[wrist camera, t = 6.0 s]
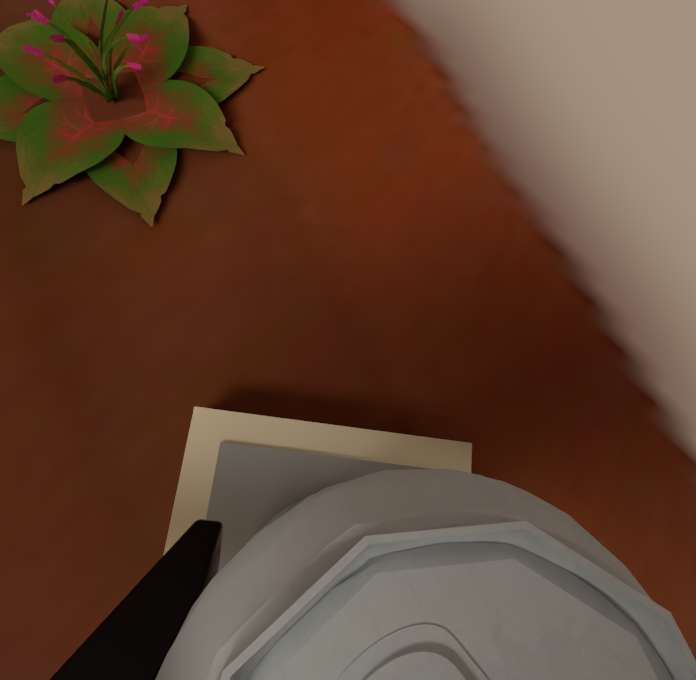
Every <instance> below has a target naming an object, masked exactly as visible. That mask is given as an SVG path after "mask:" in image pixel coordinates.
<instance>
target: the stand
mask: <svg viewBox="0 0 696 680" xmlns="http://www.w3.org/2000/svg"><path fill="white" fill-rule="evenodd" d="M471 463H472V443H467V442H460V441H452V440H445V439H437V438H430V437H422V436H414V435H407V434H399V433H392V432H384V431H377V430H369V429H361V428H354V427H346V426H339V425H331V424H324V423H316V422H308V421H301V420H293V419H286V418H278V417H270V416H263V415H255V414H248V413H240V412H233V411H225V410H217V409H210V408H202V407H195V406H194V411H193V416H192V420H191V425H190V430H189V435H188V440H187V444H186V449H185V454H184V459H183V464H182V468H181V473H180V478H179V483H178V488H177V492H176V497H175V502H174V507H173V512H172V517H171V521H170V526H169V531H168V536H167V541H166V545H165V550H164V555H165V554H166V552H167V551H168V550H169V549H170V548H171V547H172V546H173V545H174V544H175V543H176V542H177V541H178V539H179V538H180V537H181V536H182V535H183V534H184V533H185V532H186V531H187V530H188V529H189V527H190V526H191V525H192V524H193V523H194V522H195V521H197V520H199V519H205V520H214V521H220V522H221V523H222V524H223V532H222V543H221V553H220V562H219V568H218V572H219V571H220V570H221V569H222V568H223V567H224V566H225V565H226V564H227V563H228V562H229V561H230V560H231V559H232V558H233V557H234V556H235V555H236V554H237V553H238V552H239V551H240V550H241V549H242V548H243V547H244V546H245V545H246V544H247V543H248V541H249V540H250V539H251V537H252V536H253V535H254V534H255V533H256V532H257V531H258V530H259V529H260V528H261V527H262V526H263V525H264V524H265V523H266V522H267V521H268V520H269V519H270V518H272V517H273V516H275V515H276V514H277V513H279V512H280V511H282V510H283V509H285V508H286V507H288V506H290V505H292V504H294V503H296V502H298V501H300V500H302V499H304V498H306V497H308V496H310V495H312V494H314V493H316V492H318V491H320V490H322V489H324V488H326V487H329V486H332V485H336V484H339V483H343V482H346V481H350V480H353V479H357V478H360V477H362V476H365V475H368V474H372V473H376V472H380V471H384V470H408V469H453V470H458V471H463V472H468V473H471ZM164 555H163V556H164Z"/></svg>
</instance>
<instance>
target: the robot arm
mask: <svg viewBox="0 0 696 680" xmlns="http://www.w3.org/2000/svg"><path fill="white" fill-rule="evenodd" d="M222 532H223V524H222V523H221V522H220V521H214V520H205V519H199V520H197V521H195V522H194V523H193V524H192V525H191V526H190V527H189V529H188V530H187V531H186V532H185V533H184V534H183V535H182V536H181V537H180V538H179V539H178V541H177V542H176V543H175V544H174V545H173V546H172V547H171V548H170V549H169V550H168V551H167V552H166V554H165V555H164V556H163V557H162V558H161V559H160V560H159V561H158V562H157V563H156V564H155V566H154V567H153V568H152V569H151V570H150V571H149V572H148V573H147V574H146V575H145V576H144V577H143V579H142V580H141V581H140V582H139V583H138V584H137V585H136V586H135V587H134V588H133V589H132V591H131V592H130V593H129V594H128V595H127V596H126V597H125V598H124V599H123V600H122V601H121V602H120V604H119V605H118V606H117V607H116V608H115V609H114V610H113V611H112V612H111V613H110V614H109V616H108V617H107V618H106V619H105V620H104V621H103V622H102V623H101V624H100V625H99V626H98V627H97V629H96V630H95V631H94V632H93V633H92V634H91V635H90V636H89V637H88V638H87V639H86V641H85V642H84V643H83V644H82V645H81V646H80V647H79V648H78V649H77V650H76V651H75V652H74V654H73V655H72V656H71V657H70V658H69V659H68V660H67V661H66V662H65V663H64V664H63V666H62V667H61V668H60V669H59V670H58V671H57V672H56V673H55V674H54V675H53V676H52V678H51V679H50V680H155V679H156V677H157V675H158V672H159V670H160V668H161V666H162V664H163V661H164V659H165V657H166V655H167V653H168V651H169V650H170V648H171V646H172V645H173V643H174V641H175V639H176V637H177V635H178V633H179V631H180V629H181V627H182V626H183V624H184V622H185V620H186V618H187V616H188V614H189V612H190V610H191V608H192V606H193V604H194V603H195V602H196V600H197V599H198V598H199V596H200V595H201V593H202V592H203V591H204V589H205V588H206V587H207V585H208V584H209V582H210V581H211V580H212V578H213V577H214V576H215V575H216V574H217V573H218V568H219V562H220V553H221V543H222Z"/></svg>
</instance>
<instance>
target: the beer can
mask: <svg viewBox="0 0 696 680" xmlns="http://www.w3.org/2000/svg"><path fill="white" fill-rule="evenodd" d="M155 680H696V660H695V658H694V656H693V654H692V652H691V650H690V649H689V647H688V645H687V643H686V641H685V639H684V637H683V635H682V633H681V631H680V630H679V628H678V626H677V624H676V622H675V620H674V618H673V616H672V614H671V612H669V611H668V610H666V609H665V608H663V607H661V606H660V605H658V604H657V603H655V602H654V601H652V600H651V598H650V597H649V596H648V594H647V593H646V592H645V591H644V589H643V588H642V587H641V585H640V584H639V583H638V582H637V580H636V579H635V578H634V576H633V575H632V574H631V573H630V571H629V570H628V569H627V567H626V566H625V565H624V564H623V563H622V562H621V561H619V560H618V559H617V558H616V557H615V556H614V555H613V554H612V553H610V552H609V551H608V550H607V549H606V548H605V547H604V546H603V545H601V544H600V543H599V542H598V541H597V540H596V539H595V538H594V537H592V536H591V535H590V534H589V533H588V532H587V531H586V530H585V529H584V528H583V527H581V526H580V525H579V524H578V523H577V522H576V521H575V520H574V519H572V518H571V517H570V516H569V515H568V514H566V513H564V512H563V511H561V510H559V509H557V508H556V507H554V506H552V505H550V504H549V503H547V502H545V501H543V500H542V499H540V498H538V497H536V496H535V495H533V494H531V493H529V492H527V491H525V490H522V489H520V488H518V487H515V486H513V485H511V484H508V483H506V482H504V481H500V480H496V479H492V478H487V477H484V476H481V475H478V474H473V473H468V472H463V471H458V470H453V469H408V470H384V471H380V472H376V473H372V474H368V475H365V476H362V477H360V478H357V479H353V480H350V481H346V482H343V483H339V484H336V485H332V486H329V487H326V488H324V489H322V490H320V491H318V492H316V493H314V494H312V495H310V496H308V497H306V498H304V499H302V500H300V501H298V502H296V503H294V504H292V505H290V506H288V507H286V508H285V509H283V510H282V511H280V512H279V513H277V514H276V515H275V516H273V517H272V518H270V519H269V520H268V521H267V522H266V523H265V524H264V525H263V526H262V527H261V528H260V529H259V530H258V531H257V532H256V533H255V534H254V535H253V536H252V537H251V539H250V540H249V541H248V543H247V544H246V545H245V546H244V547H243V548H242V549H241V550H240V551H239V552H238V553H237V554H236V555H235V556H234V557H233V558H232V559H231V560H230V561H229V562H228V563H227V564H226V565H225V566H224V567H223V568H222V569H221V570H220V571H219V572H218V573H217V574H216V575H215V576H214V577H213V578H212V580H211V581H210V582H209V584H208V585H207V587H206V588H205V589H204V591H203V592H202V593H201V595H200V596H199V598H198V599H197V600H196V602H195V603H194V604H193V606H192V608H191V610H190V612H189V614H188V616H187V618H186V620H185V622H184V624H183V626H182V627H181V629H180V631H179V633H178V635H177V637H176V639H175V641H174V643H173V645H172V646H171V648H170V650H169V651H168V653H167V655H166V657H165V659H164V661H163V664H162V666H161V668H160V670H159V672H158V675H157V677H156V679H155Z"/></svg>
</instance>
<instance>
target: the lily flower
mask: <svg viewBox="0 0 696 680" xmlns="http://www.w3.org/2000/svg"><path fill="white" fill-rule="evenodd" d="M48 1H49V2H50V3H51V4H52V5H54V6H55V7H56V8H55V10H54V12H53V14H52V17H51V18H52V19H51V20H49V19H48V20H47V19H46V18H45V17H44V16H43V15H42V14H41V13H39V12H38V11H37V10H34V12H35V13H36V14H37V15H35V13H33V12H32V13H27V16H32V17H31V18H32V19H31V20H28V21H24V22H22V23H19V24H16V25H13V26H10V27H8V28H6V29H5V31H2V33H0V67H1V69H2V70H3V71H4V72H5V74H6V75H3V76H0V139H2V140H7V141H12V142H16V152H17V159H18V166H19V172H20V177H21V178H22V179H23V180H24V181H23V182H24V184H25V185H26V187H25V189H23V199H22V205H23V204H25V203H26V202H28V201H29V200H30V199H32V198H33V197H35V196H37V195H39V194H41V193H43V192H44V191H46V190H48V189H50V188H51V187H52V185H53V184H55V183H57V184H60V183H62V182H63V181H65V180H67V179H69V178H71V177H72V176H74V175H76V174H77V173H79V172H82V171H84V170H86V172H87V174H88V175H89V176H90V178H91V179H92V180H93V181H94V182H95V183H96V184H97V185H98V186H99V187H100V188H102V189H103V190H104V191H105V192H107V193H108V194H109V195H110V196H112V197H113V198H114V199H116V200H117V201H119V202H120V203H121V204H123V205H124V206H126V207H127V208H129V209H130V210H135V211H136V212H139V213H141V217H142V218H143V219H144V220H145V221H146V222H147V223H148V224H149V225H150V226H151V227H152V225H153V221H154V215H155V214H156V212H157V210H158V208H159V205H160V203H161V195H162V194H164V193H165V192H166V190H167V188H168V186H169V183H170V181H171V178H172V175H173V172H174V169H175V166H176V161H177V148H189V149H197V150H208V151H221V150H222V151H224V150H227V151H229V152H231V153H237V154H241V155H245V154H244V153H243V152H242V150H241V149H240V148H239V146H237V142H236V140H235V138H234V136H233V134H232V132H231V130H230V129H229V128H227V127H226V126H225V122H226V119H225V117H224V115H223V113H222V111H221V109H220V107H219V106H218V104H219V103H220V102H222V101H223V100H224V99H225V98H227V97H228V96H229V95H230V94H232V93H233V92H234V91H236V90H237V89H238V88H239V87H240V86H242V85H243V84H244V83H245V82H246V81H247V80H248V79H249V77H250V75H251V74H252V73H253V74H254V73H256V72H258V71H259V70H261V69H263V68H264V67H262V66H258V65H254V66H253V65H252V64H251V63H249V62H246V61H244V60H242V59H239V58H236V59H233V58H232V57H231V55H230V54H228V53H226V52H223V51H221V50H218V49H215V48H211V47H203V46H188V44H189V24H188V18H187V17H186V16H185V15H184V13H185V12H186V8H187V5H182V6H179V7H176V6H162V7H160V8H159V9H158V8H156V7H154V6H143V5H144V4H145V3H146V4H148V3H149V2H148V1H147V0H141V1H139V2H136V3H135V4H133V7H132V8H130V9H128V10H125V9H124V8H123V7H122V6H121V5H120V4H118V3H117V2H116V1H114V0H62V1H61V2H60V3H59V4H58V6H56V5H55V2H54V1H52V0H48ZM89 16H90V18H91V19H92V20H93V22H94V23H95V25H96V26H97V28H98V29H99V31H100V40H99V45H98V48H97V46H96V45H95V44H94V43H93V42H92V41H93V40H92V41H91V40H90V39H89V38H88V37H87V36H86V35H87V34H88V29H89ZM89 32H90V31H89ZM90 35H91V34H90ZM91 38H92V37H91ZM132 71H134V73H135V75H136V78H137V80H138V83H139V85H140V88H141V90H142V92H143V95H144V99H145V105H146V111H147V112H144V113H140V114H136V115H132V116H128V117H124V118H121V119H117V120H108V121H95V122H93V120H92V117H91V115H90V112H89V110H88V108H87V105H86V103H85V100H84V98H83V92H82V86H85V87H88V88H90V89H91V90H92V91H94V92H96V93H98V94H100V95H102V96H103V97H104V98H106V99H107V101H108V103H109V102H110V100H111V99H112V98H113V99H114V97H115V98H117V99H118V95H119V90H118V86H117V74H118V73H122V72H132ZM175 72H182V73H187V74H190V75H192V76H194V77H196V78H217V79H214V80H212V81H209V82H207V83H204V84H202V85H199V86H197V85H195V84H193V83H190V82H187V81H182V80H168V79H169V78H170V77H171V76H172V75H173V74H174V73H175ZM108 74H109V76H110V81H111V86H112V89H113V94H112V91H111V88H110V86H109V80H108ZM91 78H96V79H97V81H98V82H99V83H100V85H101V86H102V87H103V89H104V91H105V92H104V91H103V90H102V89H101V88H100V87H99V86H97V85H96V84H94V83H93V82H92V81H90V80H89V79H91ZM81 85H82V86H81ZM42 98H45V99H49V100H52V101H48V102H45V103H43V104H40V105H38V106H36V107H35V108H33V109H32V110H31V111H29V112H28V113H27V114H25V113H22V112H24V111H26V110H27V109H28V108H29V107H31V106H32V105H34V104H35V103H36V102H38V101H39V100H40V99H42ZM114 102H115V101H114ZM125 134H126V135H127V136H128V137H129V138H131V139H132V140H134V141H136V142H139V143H141V144H144V146H143V148H142V150H141V152H140V155H139V157H138V160H137V161H136V162H135V167H134V166H133V165H132V164H131V163H129V162H128V161H127V160H126V159H125V158H124V157H122V156H121V155H120V154H119V153H117V152H116V151H115V149H117V147H118V146H119V145H120V144H121V142H122V140H123V138H124V135H125Z"/></svg>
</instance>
